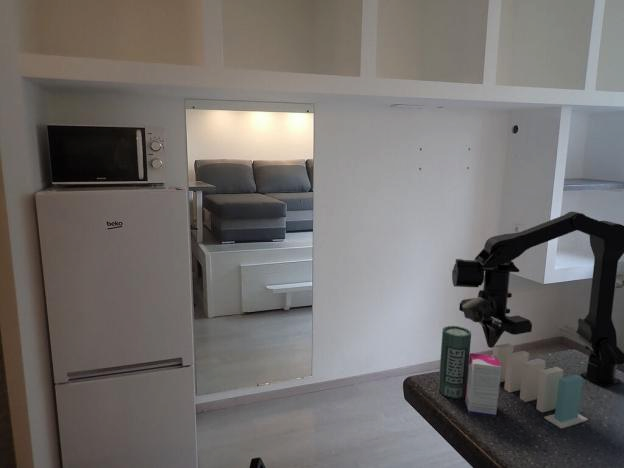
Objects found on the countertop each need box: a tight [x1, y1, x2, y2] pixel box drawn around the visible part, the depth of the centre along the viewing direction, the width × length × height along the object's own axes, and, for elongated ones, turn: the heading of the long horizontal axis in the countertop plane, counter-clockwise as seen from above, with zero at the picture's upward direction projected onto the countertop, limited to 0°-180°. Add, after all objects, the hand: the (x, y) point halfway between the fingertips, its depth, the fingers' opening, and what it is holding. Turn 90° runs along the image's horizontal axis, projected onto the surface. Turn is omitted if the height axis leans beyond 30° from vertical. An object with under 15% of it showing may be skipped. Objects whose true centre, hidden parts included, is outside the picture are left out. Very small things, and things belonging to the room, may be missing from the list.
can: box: [438, 325, 472, 400], centre depth 104 cm, size 6×6×15 cm
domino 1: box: [491, 343, 515, 383], centre depth 110 cm, size 2×5×9 cm, turn 113°
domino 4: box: [535, 366, 564, 413], centre depth 98 cm, size 2×5×9 cm, turn 113°
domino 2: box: [504, 350, 530, 393], centre depth 106 cm, size 2×5×9 cm, turn 113°
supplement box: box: [464, 352, 501, 418], centre depth 97 cm, size 6×6×12 cm
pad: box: [544, 413, 589, 430], centre depth 94 cm, size 8×4×1 cm, turn 113°
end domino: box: [554, 374, 584, 422], centre depth 94 cm, size 2×5×9 cm, turn 112°
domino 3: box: [519, 358, 546, 403], centre depth 102 cm, size 2×5×9 cm, turn 113°
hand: (490, 347), depth 113 cm, fingers closed
